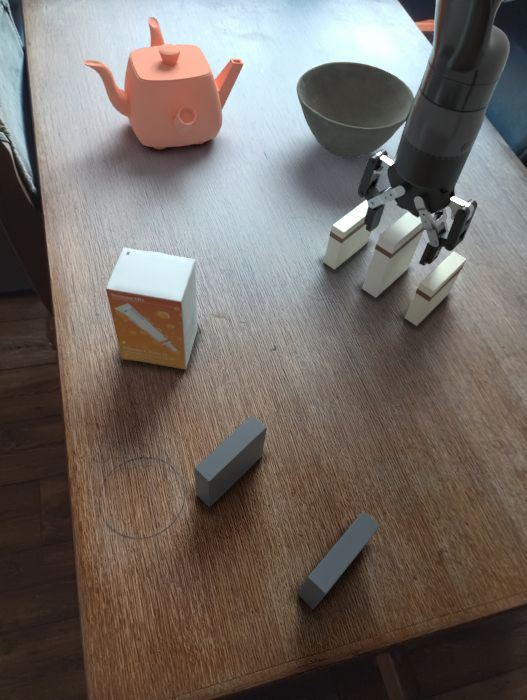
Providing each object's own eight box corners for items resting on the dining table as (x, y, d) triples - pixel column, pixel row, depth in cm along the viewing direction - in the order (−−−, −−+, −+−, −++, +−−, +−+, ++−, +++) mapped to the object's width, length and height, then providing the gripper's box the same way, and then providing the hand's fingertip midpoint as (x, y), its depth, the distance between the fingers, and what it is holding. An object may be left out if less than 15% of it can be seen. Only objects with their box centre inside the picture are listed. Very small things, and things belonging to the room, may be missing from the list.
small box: (121, 360, 65) (103, 288, 55) (136, 319, 69) (122, 245, 58) (187, 371, 65) (181, 301, 55) (198, 330, 69) (196, 257, 58)
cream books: (448, 294, 76) (467, 259, 70) (416, 326, 72) (434, 291, 66) (356, 235, 81) (367, 198, 76) (323, 262, 77) (331, 225, 72)
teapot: (96, 140, 90) (80, 55, 79) (157, 90, 100) (150, 8, 89) (192, 177, 86) (189, 94, 75) (245, 121, 96) (249, 40, 85)
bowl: (297, 109, 100) (304, 53, 91) (398, 126, 99) (415, 71, 91) (281, 171, 89) (288, 114, 81) (395, 190, 88) (414, 135, 80)
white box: (408, 268, 78) (431, 214, 70) (375, 298, 74) (395, 245, 66) (394, 259, 79) (415, 205, 71) (361, 288, 75) (379, 234, 67)
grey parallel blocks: (363, 547, 55) (380, 525, 49) (313, 610, 51) (325, 594, 45) (249, 444, 60) (252, 414, 55) (196, 494, 57) (194, 467, 51)
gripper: (515, 149, 57) (458, 259, 70) (404, 92, 62) (370, 205, 75) (480, 179, 54) (427, 289, 67) (365, 117, 59) (337, 230, 72)
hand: (397, 244), depth 71 cm, fingers open, 8 cm apart
